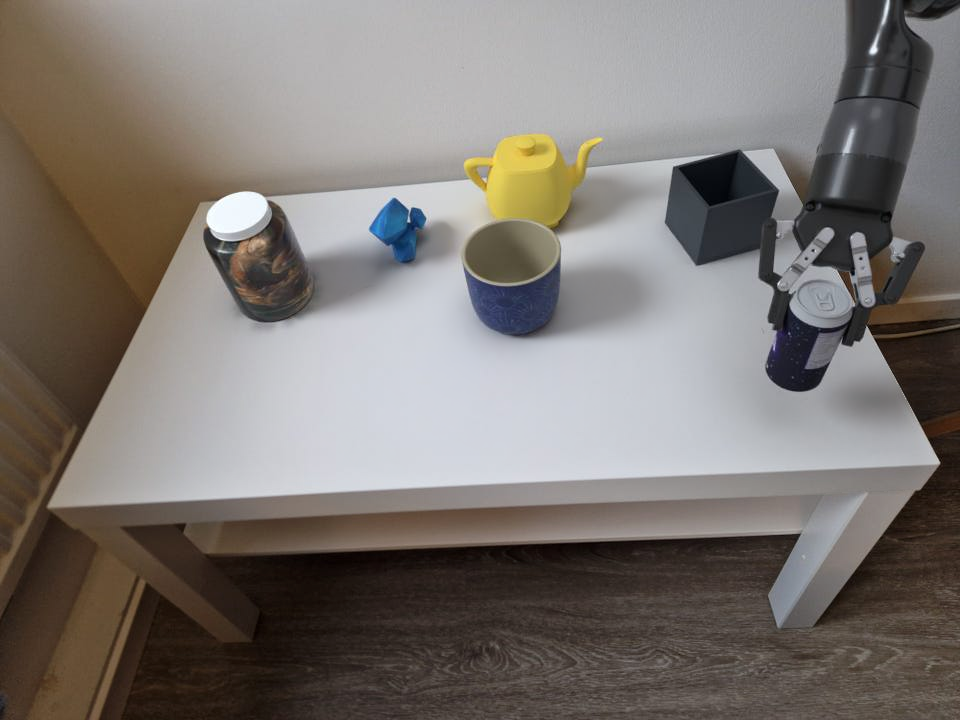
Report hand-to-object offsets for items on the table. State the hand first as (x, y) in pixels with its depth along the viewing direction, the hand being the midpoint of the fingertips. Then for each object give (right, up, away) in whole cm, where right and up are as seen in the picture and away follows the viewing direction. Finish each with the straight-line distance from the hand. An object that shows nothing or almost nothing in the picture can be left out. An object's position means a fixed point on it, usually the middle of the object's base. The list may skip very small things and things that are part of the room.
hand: (811, 337), depth 64 cm
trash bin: (+2, +16, +32) cm, 36 cm away
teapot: (-23, +21, +40) cm, 51 cm away
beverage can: (+2, -4, +8) cm, 9 cm away
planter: (-27, +5, +27) cm, 38 cm away
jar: (-62, +8, +34) cm, 71 cm away
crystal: (-43, +15, +37) cm, 59 cm away
